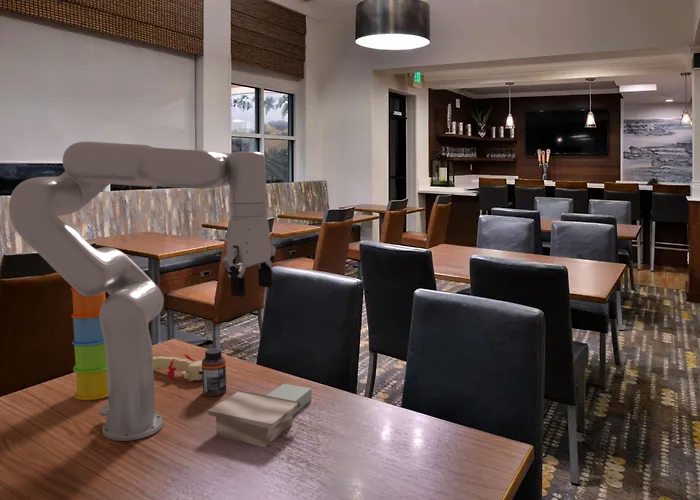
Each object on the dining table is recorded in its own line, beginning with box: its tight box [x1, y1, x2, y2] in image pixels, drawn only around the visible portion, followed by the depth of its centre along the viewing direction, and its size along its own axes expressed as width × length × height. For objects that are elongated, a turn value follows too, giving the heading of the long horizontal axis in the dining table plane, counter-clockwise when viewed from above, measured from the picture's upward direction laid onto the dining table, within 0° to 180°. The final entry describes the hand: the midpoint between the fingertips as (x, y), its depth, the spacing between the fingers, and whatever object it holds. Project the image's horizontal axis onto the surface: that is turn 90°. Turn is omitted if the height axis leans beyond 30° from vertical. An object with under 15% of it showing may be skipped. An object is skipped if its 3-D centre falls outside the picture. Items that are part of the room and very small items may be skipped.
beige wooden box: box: [207, 390, 300, 448], centre depth 124 cm, size 12×16×6 cm
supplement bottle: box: [201, 347, 227, 397], centre depth 144 cm, size 6×6×11 cm
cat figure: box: [153, 353, 202, 382], centre depth 157 cm, size 10×9×25 cm
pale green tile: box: [266, 383, 312, 417], centre depth 137 cm, size 8×12×3 cm, turn 157°
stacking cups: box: [70, 286, 108, 401], centre depth 141 cm, size 10×10×35 cm
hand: (252, 291), depth 120 cm, fingers open, 9 cm apart
